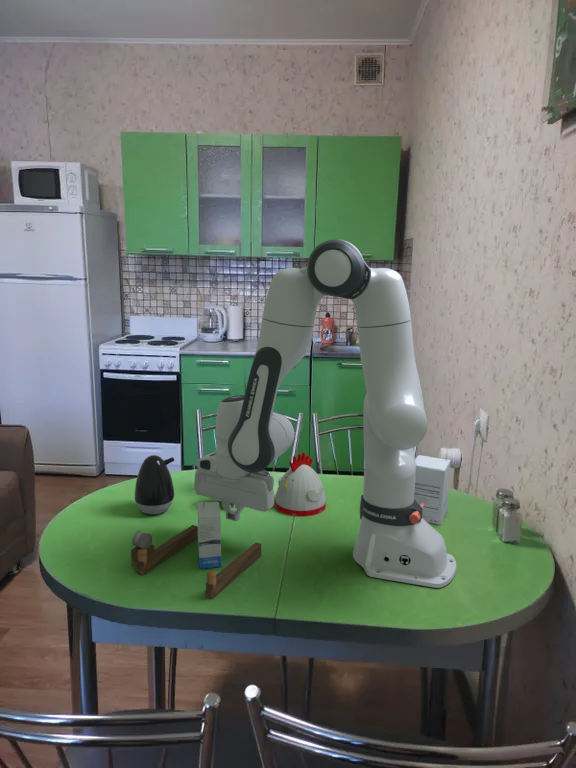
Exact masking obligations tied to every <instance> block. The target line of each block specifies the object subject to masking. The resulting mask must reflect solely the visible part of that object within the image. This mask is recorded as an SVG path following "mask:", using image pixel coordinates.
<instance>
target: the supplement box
mask: <svg viewBox="0 0 576 768" xmlns="http://www.w3.org/2000/svg"><path fill="white" fill-rule="evenodd" d="M415 463H416V476H415V491H414V499H415V501H416V502H417V503H418V504H419V505H421V504H422V503H423V511H422V518H423V519H424V520H425V521H426V522H427V523H428V524H434V525H440V526H441V525H442V524H443V521H444V519H445V518H446V517H445V516H446V514H447V513H448V501H449V488H450V487H449V486H450V475H451V459H446V458H439V457H433V456H428V455H417V456H416V457H415Z"/></svg>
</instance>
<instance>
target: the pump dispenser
mask: <svg viewBox="0 0 576 768" xmlns="http://www.w3.org/2000/svg"><path fill="white" fill-rule="evenodd" d="M173 462H175V457H169V458H167V459H163V458H162V457H161V456H159V455H156V454H154V455H149V456H148V457H146V458H145V459H144V460H143V462H141V463H142V464H141V465H140V468H139V470H138V474H137V476H136V481H135V485H134V486H135V487H134V501H135V503H136V505H137V507H138V509H139V510H140V511H141V512H142V513H144V514H147V515H159V514H162V513H164V512H166V511H168V510H169V508H170V507H171V506H172V504H173V501H174V498H175V488H174V482H173V478H172V476H171V475H172V474H171V472H170V469H169V467H168V465H169V464H171V463H173Z"/></svg>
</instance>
